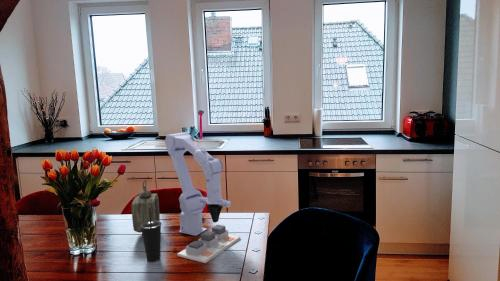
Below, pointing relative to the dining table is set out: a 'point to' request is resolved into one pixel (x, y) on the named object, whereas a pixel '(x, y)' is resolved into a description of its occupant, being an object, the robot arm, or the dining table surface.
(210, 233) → the button middle
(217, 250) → the button board
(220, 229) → the button far
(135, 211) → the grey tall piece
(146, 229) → the drinking cup
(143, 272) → the dining table surface
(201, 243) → the button near
